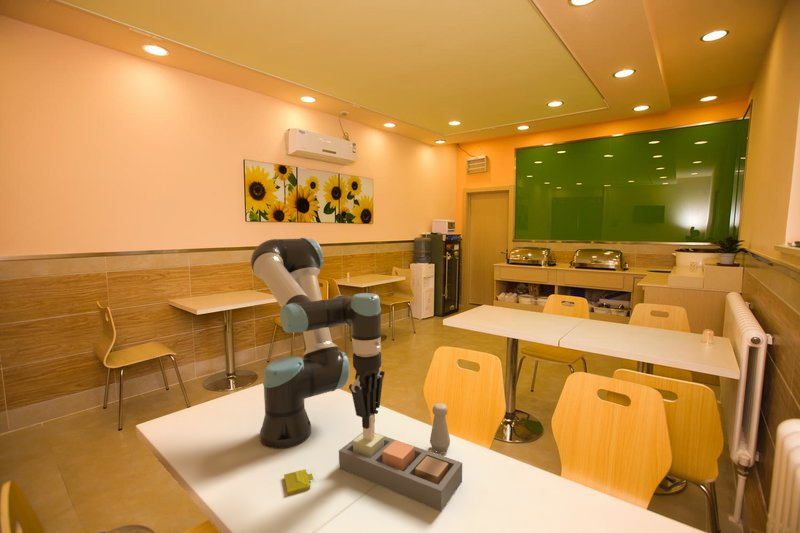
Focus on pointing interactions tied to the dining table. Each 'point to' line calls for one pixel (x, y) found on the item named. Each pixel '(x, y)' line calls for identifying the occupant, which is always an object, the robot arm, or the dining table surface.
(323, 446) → the dining table surface
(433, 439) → the salt shaker
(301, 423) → the robot arm
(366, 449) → the cream square block
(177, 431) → the dining table surface
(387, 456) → the terracotta key
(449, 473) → the key panel
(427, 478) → the walnut key
